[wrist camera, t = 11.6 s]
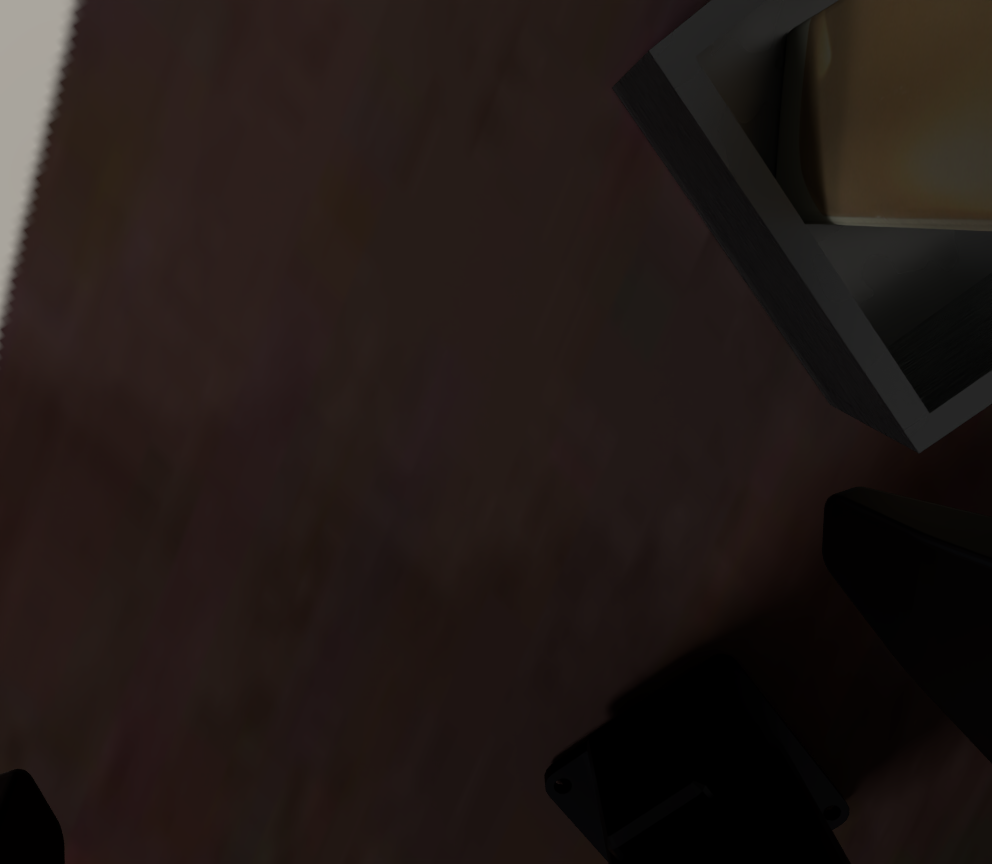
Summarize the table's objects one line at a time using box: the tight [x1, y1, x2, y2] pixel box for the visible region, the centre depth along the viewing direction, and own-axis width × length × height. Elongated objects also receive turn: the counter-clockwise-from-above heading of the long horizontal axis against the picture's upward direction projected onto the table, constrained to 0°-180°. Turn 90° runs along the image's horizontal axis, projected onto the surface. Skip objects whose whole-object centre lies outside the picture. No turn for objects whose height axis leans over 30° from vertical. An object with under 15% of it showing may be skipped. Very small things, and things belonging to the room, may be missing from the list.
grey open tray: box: [612, 0, 992, 453], centre depth 17 cm, size 10×10×4 cm
